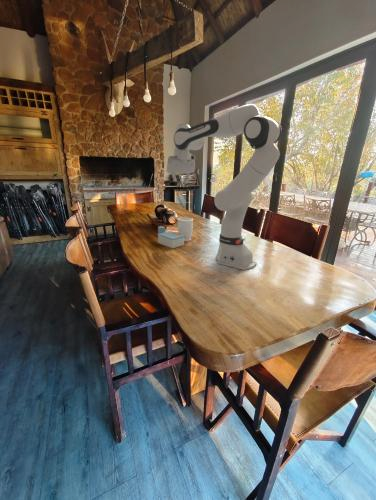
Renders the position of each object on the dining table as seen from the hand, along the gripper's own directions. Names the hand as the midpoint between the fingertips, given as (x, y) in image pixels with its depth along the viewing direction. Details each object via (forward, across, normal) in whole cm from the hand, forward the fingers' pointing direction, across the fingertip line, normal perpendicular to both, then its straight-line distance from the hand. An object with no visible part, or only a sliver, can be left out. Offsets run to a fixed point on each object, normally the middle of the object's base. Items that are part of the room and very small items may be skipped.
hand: (180, 181), depth 141 cm
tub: (+40, -5, +2) cm, 40 cm away
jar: (+40, +9, +3) cm, 41 cm away
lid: (+35, -5, +4) cm, 35 cm away
